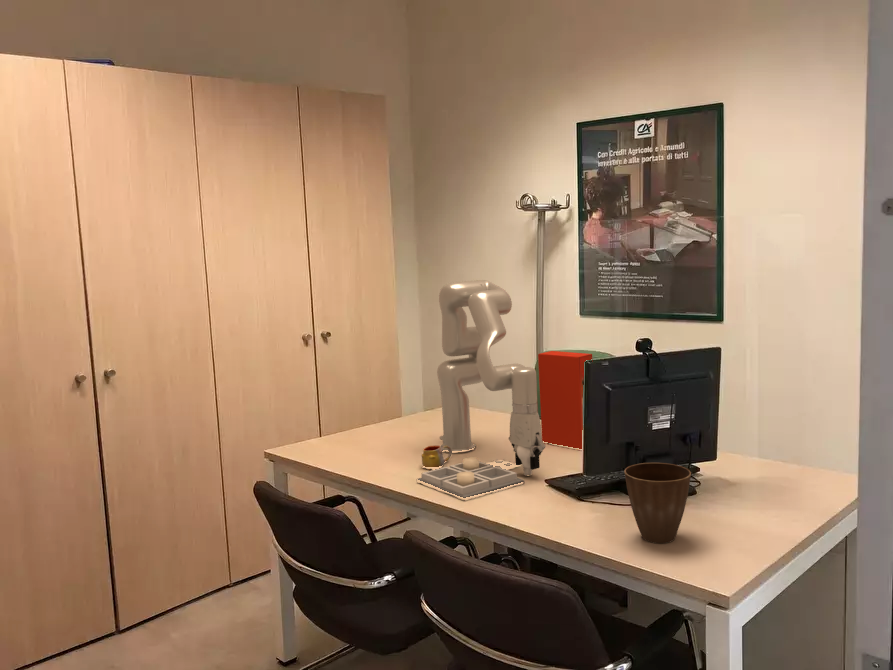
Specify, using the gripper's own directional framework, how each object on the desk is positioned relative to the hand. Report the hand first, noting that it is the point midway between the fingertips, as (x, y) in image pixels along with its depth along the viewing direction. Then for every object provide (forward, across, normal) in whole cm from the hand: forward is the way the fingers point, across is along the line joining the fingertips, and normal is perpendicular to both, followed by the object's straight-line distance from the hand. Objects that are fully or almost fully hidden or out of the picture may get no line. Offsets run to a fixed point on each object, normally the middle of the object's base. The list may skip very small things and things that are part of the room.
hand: (527, 466), depth 234 cm
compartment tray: (+3, -7, -17) cm, 19 cm away
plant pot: (+3, +58, -11) cm, 59 cm away
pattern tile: (+3, -14, 0) cm, 14 cm away
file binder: (+3, -17, +34) cm, 38 cm away
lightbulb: (+3, 0, 0) cm, 3 cm away
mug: (+3, -29, -13) cm, 32 cm away
